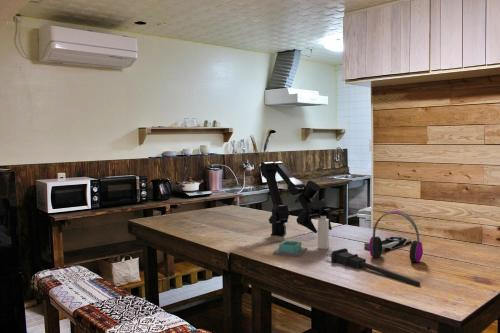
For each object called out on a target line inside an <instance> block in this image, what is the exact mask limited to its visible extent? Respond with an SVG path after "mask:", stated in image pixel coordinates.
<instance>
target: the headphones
mask: <svg viewBox="0 0 500 333" xmlns="http://www.w3.org/2000/svg"><path fill="white" fill-rule="evenodd" d="M391 214H392V215H393V214H394V215H395V214H396V215H400V216H402V217H404V218H405V219H406V220H408V222H409V223H411V225H412V227H413V228H414V231H415V233H416V239H417V240H413V241H412V240H411V244H410V248H409V261H410V262H411V263H415V262H416V263H419V264H420V261H421V260H422V257H423V254H424V253H423V250H424V248H423V242H422V241H420V232H419V230H418V227H417V224H416V223H415V221H414V219H413V218H412V217H411V216H410V215H409V214H407V213H406V212H403V211H399V210H391V211H388V212H386V213H384V214H383V215H381V216H380V217H379V218H378V219H377V220H376V222H375V224H374V227H373V229H372V236H371V237H370V239H369V242H370V244H369V249H370V250H369V249H368V250H369V254H370V256H371V258H377V259H378V258H380V257H381V256H382V254H383V253H382V241H381V240H382V238H381V237H380V236H376V229H377V226H378V224H379V222H380V221H381V220H382V218H384V217H385V216H387V215H391Z"/></svg>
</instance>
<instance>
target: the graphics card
mask: <svg viewBox="0 0 500 333" xmlns="http://www.w3.org/2000/svg"><path fill="white" fill-rule="evenodd" d="M381 241H382V254H385V253H386V252H390V251H392V250H396V249H399V248H401V247H405V246H408V245H411V243H412V240H411V238H410V237H405V236H398V235H393V236H389V237H386V238H383V239H382V238H381ZM369 244H370V241H369V242H366V243H364V246H363V247H364V249H363V250H369V251H370V249H369Z"/></svg>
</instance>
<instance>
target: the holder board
mask: <svg viewBox="0 0 500 333" xmlns="http://www.w3.org/2000/svg"><path fill="white" fill-rule="evenodd" d="M306 251H308V247H302V242H301V241H293V240H284V241H282V242H280V243H279V244H278V248H277V249H275V250H274V251H273V252H272V255H281V256H288V257H289V256H290V257H299V258H300V257H301V256H302V255H303V254H304V253H306Z"/></svg>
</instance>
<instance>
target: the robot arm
mask: <svg viewBox="0 0 500 333" xmlns="http://www.w3.org/2000/svg"><path fill="white" fill-rule="evenodd" d="M259 171H260V174H261V175H262V176H263V178H264V179H265V180H266V183H267V187H268V190H269V196H270V199H271V202H272V208H271V215H270V217H269V218H268V223H269V224H271V233H270V236H276V237H282V236H283V237H284V236H285V235H286V234H287V225H286V223H288V220H289V217H290V210H289V207H288V205H287V204H284V203H283V200H282V196H281V193H280V189H279V186H278V182H277V178H276V176H277V174H278V175H279V176H280V177H281V179H282V180H283V181H284V182H285V183H286V185H287V186H286V187H287V190H288V192H289V194H290V195H292V196H296V197H295V201H294V203H295V204H298V203H299V205H300V206H301V208H302V209H301V211H302V212H301V213H299V215H298V216H297V218H296V222H297V224H298V225H300V226H301V227H304V228H306V229H308V230H309V231H311V232H312V233H315V234H318V229H317V228H316V227H315V225H314V223H313V221H312V219H317V218H319V219H320V216H326V219H329V231H332V228H333V227H332V224H331V216H332V214H334V213H333V210H332V209H331V208H326V206H327V205H328V203H327V201H326V200H325V198H322V199H320V200H317V201H313V200H312V199H314V198H315V197H316V196H317V194H318V193H319V192H320V190H321V187H320V185H319V184H318V183H316V182H315V181H313V180H312V179H311V180H308V181H307V183H306V184H305V183H304V182H302V181H301V180H300V179H296V178H295V177H294V176H293V174H292V173H291V172H290V170H288V169H287V167H286V166H285V165H284V162H283V161H264V162H261V163H260V165H259ZM323 208H326V209H323Z"/></svg>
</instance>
